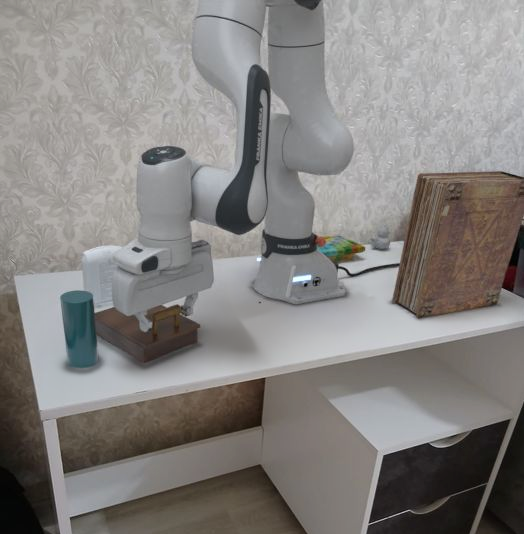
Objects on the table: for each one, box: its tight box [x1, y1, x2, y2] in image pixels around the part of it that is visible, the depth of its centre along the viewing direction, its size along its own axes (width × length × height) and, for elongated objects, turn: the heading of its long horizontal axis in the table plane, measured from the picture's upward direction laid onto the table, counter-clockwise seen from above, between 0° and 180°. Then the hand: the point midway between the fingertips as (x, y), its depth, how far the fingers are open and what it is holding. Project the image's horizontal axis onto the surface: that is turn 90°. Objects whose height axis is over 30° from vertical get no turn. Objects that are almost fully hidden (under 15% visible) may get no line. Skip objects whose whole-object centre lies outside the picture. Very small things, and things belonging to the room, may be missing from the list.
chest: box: [95, 319, 198, 364], centre depth 106 cm, size 16×13×4 cm
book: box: [391, 170, 524, 319], centre depth 126 cm, size 25×9×30 cm, turn 116°
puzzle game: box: [317, 234, 366, 263], centre depth 156 cm, size 12×5×20 cm
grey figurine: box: [370, 223, 391, 250], centre depth 166 cm, size 5×7×8 cm
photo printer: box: [81, 244, 123, 305], centre depth 118 cm, size 10×4×12 cm, turn 123°
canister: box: [59, 289, 99, 369], centre depth 94 cm, size 5×5×13 cm
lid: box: [95, 303, 201, 349], centre depth 103 cm, size 16×13×5 cm
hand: (167, 322), depth 100 cm, fingers open, 8 cm apart
